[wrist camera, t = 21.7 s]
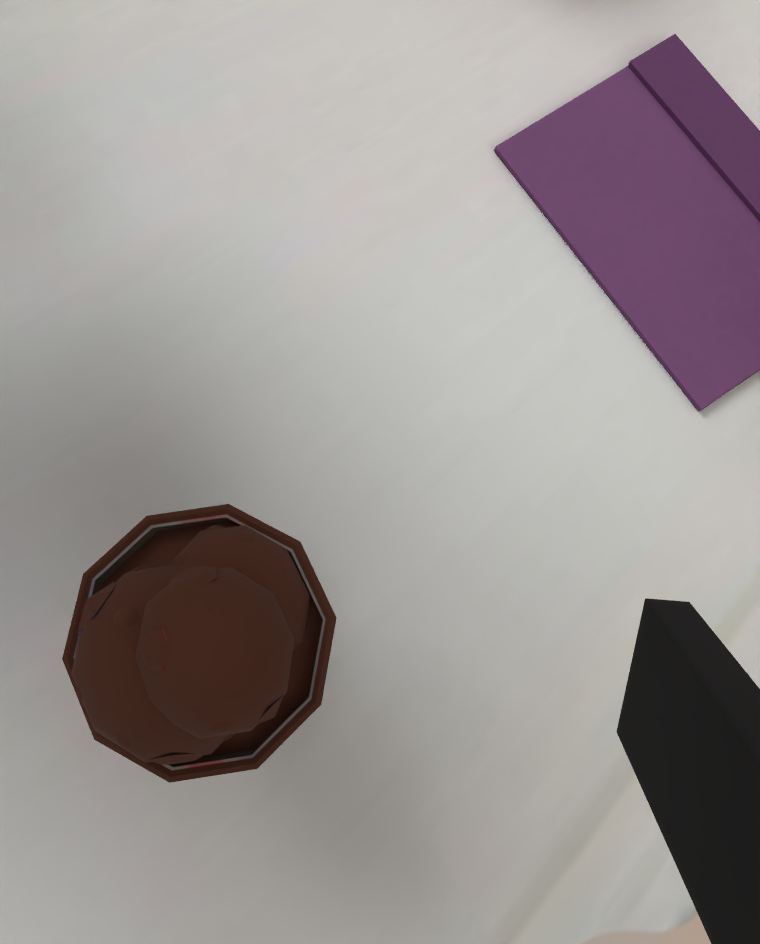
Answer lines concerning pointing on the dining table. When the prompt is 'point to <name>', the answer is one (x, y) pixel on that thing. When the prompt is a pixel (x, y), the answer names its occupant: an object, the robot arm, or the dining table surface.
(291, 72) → the dining table surface
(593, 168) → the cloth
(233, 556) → the ice cream bowl
